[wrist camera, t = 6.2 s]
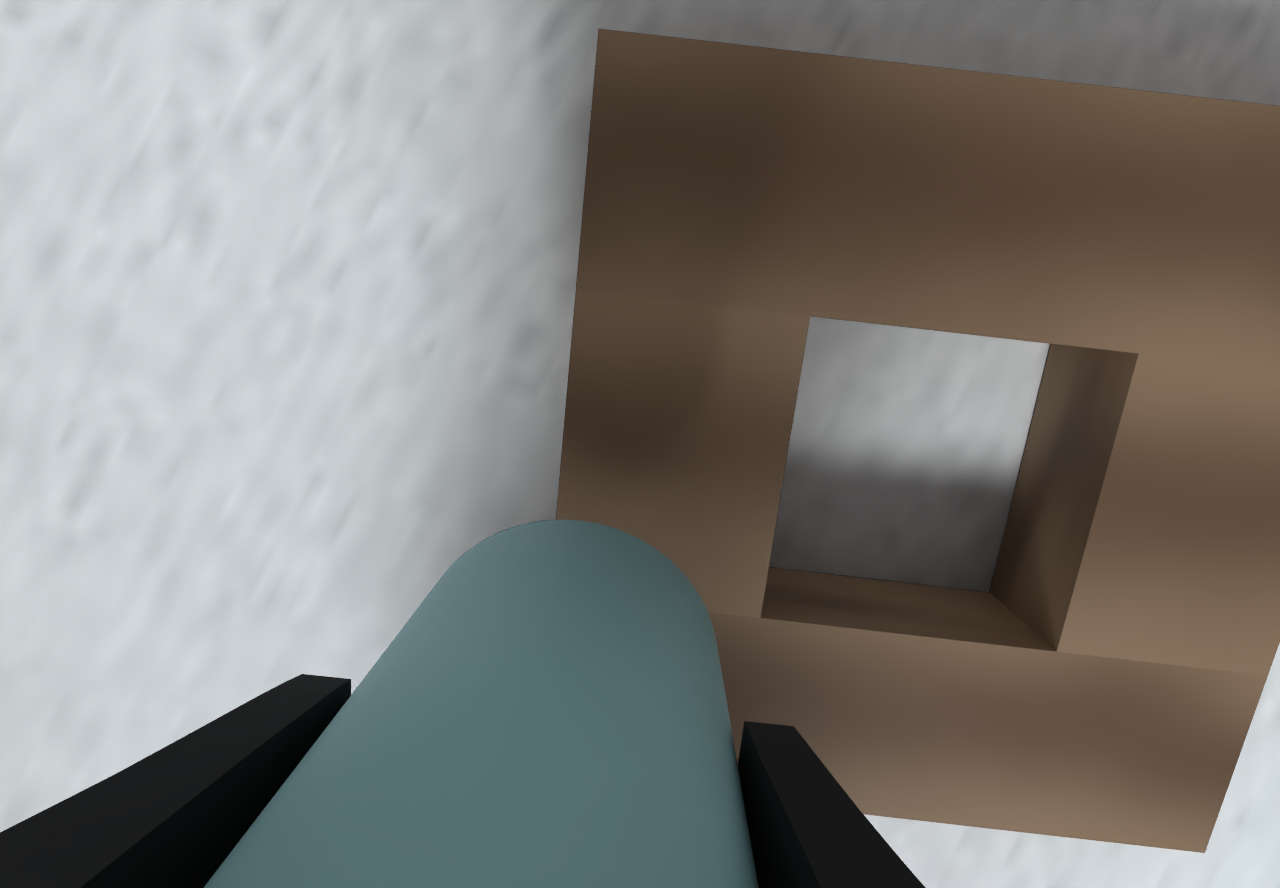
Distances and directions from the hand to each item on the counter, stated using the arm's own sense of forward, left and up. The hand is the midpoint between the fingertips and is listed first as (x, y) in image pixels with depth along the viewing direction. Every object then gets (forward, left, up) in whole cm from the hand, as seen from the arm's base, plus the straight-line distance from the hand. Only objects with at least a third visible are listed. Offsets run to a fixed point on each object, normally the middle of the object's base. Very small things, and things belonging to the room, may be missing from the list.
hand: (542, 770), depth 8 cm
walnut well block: (+2, -7, -9) cm, 12 cm away
